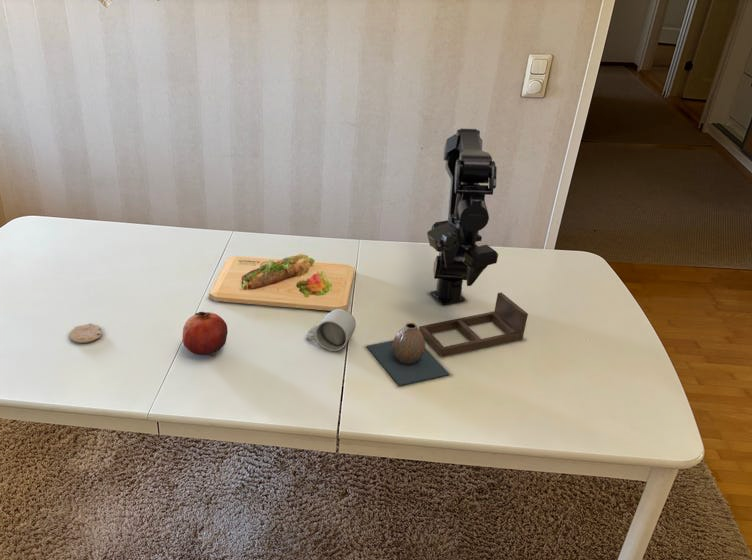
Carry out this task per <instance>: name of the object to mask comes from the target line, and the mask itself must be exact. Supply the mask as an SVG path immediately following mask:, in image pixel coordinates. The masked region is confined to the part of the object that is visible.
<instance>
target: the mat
mask: <svg viewBox="0 0 752 560" xmlns="http://www.w3.org/2000/svg"><path fill="white" fill-rule="evenodd" d="M393 341H394V340H389V341H384V342H379V343H375V344H369V345H367V346H366V348H367V349H368V351H369V352H370V353H371V354H372V355H373V356H374V358H375V359H376V360H377V361H378V363H379V364H380V365H381V366H382V368H383V369H384V370H385V371H386V372H387V374H388V375H389V376H390V377H391V378H392V380H393V381H394V382H395V384H397V386H398V387H403V386H406V385H412V384H416V383H420V382H421V383H422V382H424V381H429V380H434V379H438V378H443V377H447V376H450V373H449V372H448V371H447V369H446V368H445V367H444V366H443V365H442V364H441V363H440V362H439V361H438V360H437V359H436V358H435V357H434V356H433V354H431V353H430V351H428V349H427V348H425V349H424V353H423V355H422V357H421V358H420V359H419V360H418V361H417V362H415V363H413V364H404V363H402V362H400V361H399V360H398V359H397V358H396V357H395V355H394V352H393Z"/></svg>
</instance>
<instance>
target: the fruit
mask: <svg viewBox="0 0 752 560" xmlns="http://www.w3.org/2000/svg"><path fill="white" fill-rule="evenodd" d="M228 332H229V331H228V325H227V322H226V321H225V320H224V319H223V318H222V316H220V315H219V314H217V313H215V312H211V311H210V312H209V311H198V312H195V314H193V315H191V316H190V317H189V318H188V319H187V320H186V321H185V323H184V325H183V328H182V335H181V336H182V338H181V339H182V344H183V346H184V348H185V349H187V351H189V352H190V353H191V354H193V355H196V356H210V355H213V354H216V353H217V352H219V351H220V350H221V349H222V348H224V347H225V345H226V343H227V339H228Z"/></svg>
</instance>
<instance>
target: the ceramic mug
mask: <svg viewBox="0 0 752 560" xmlns="http://www.w3.org/2000/svg"><path fill="white" fill-rule="evenodd" d="M356 324H357V323H356V318H355V316H354V315H353V313H351V312H350V311H348V310H347V309H335V310H333V311H329V312H328V313H327V314H326V316H324V318H323V319H321V321H320V322H319V323H318V324H317V325H315V326H313V327H311V328H310V329H309V330H307V333H306V336H307V338H308V339H309V341H316V342H317V343H318V344H319V346H321V347H322V348H323V349H325V350H327V351H330V352H338V351H340V350H342V349H343V348H344V347H345V346H347V344H348V342H349V341H350V339H351V337H352V336H353V334H354V332H355V330H356V326H357V325H356Z"/></svg>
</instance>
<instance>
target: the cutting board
mask: <svg viewBox="0 0 752 560" xmlns="http://www.w3.org/2000/svg"><path fill="white" fill-rule="evenodd" d="M354 275H355V267H354V266H353V265H351V264H347V263H335V262H334V263H332V262H320V261H315V259H314V258H312V257H309V255H308V254H307V255H306V254H304V253H303V254H302V253H298V254H296V255H292V256H287V257H284V258H282V259H281V258H268V257H257V256H256V257H255V256H241V255H235V256H231V257H227V258H226V260H225V262H224V264H223V266H222V267H221V269H220V272H219V274H218V276H217V277H216V279H215V281H214V283H213V285H212V287H211V289H210V290H209V292H208V298H210V299H211V300H214V301H215V302H225V303H237V304H247V305H258V306H269V307H270V306H271V307H281V308H285V307H286V308H292V309H293V308H294V309H304V310H305V309H306V310H317V311H318V310H319V311H327V312H328V311H329V312H331V311H333V310H335V309H345V310H347V309H348V305H349V300H350V294H351V291H352V285H353V280H354Z"/></svg>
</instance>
